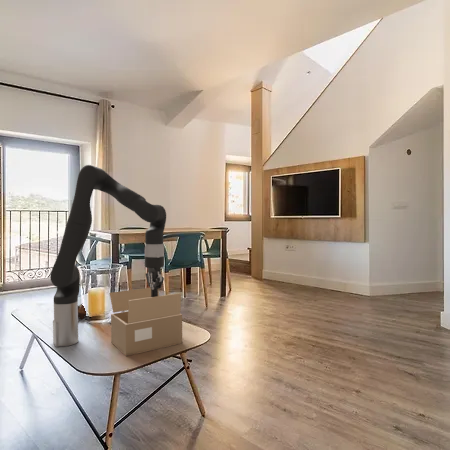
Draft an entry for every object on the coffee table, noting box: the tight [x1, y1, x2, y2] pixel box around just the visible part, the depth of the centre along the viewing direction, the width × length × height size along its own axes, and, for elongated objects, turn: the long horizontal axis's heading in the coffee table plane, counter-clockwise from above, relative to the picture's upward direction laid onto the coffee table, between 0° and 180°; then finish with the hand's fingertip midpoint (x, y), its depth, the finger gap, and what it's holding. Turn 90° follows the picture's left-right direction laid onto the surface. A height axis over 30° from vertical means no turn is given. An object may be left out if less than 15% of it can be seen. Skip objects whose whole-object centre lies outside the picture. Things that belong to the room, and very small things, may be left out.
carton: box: [110, 310, 183, 357], centre depth 148 cm, size 24×18×12 cm
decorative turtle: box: [78, 303, 87, 320], centre depth 186 cm, size 10×15×8 cm, turn 135°
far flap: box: [109, 287, 161, 313], centre depth 158 cm, size 22×9×1 cm
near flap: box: [127, 292, 182, 323], centre depth 140 cm, size 22×9×1 cm
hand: (154, 298), depth 141 cm, fingers closed
